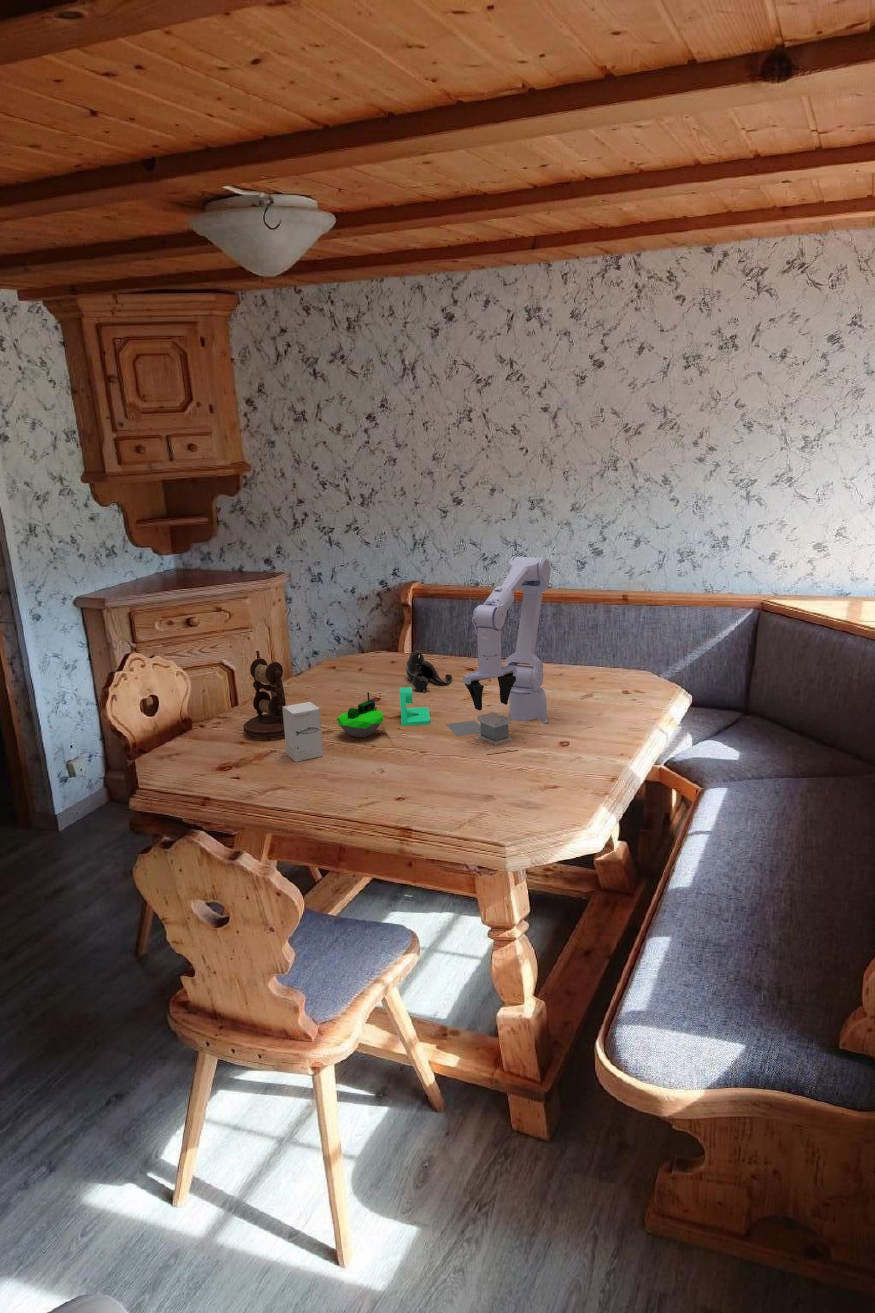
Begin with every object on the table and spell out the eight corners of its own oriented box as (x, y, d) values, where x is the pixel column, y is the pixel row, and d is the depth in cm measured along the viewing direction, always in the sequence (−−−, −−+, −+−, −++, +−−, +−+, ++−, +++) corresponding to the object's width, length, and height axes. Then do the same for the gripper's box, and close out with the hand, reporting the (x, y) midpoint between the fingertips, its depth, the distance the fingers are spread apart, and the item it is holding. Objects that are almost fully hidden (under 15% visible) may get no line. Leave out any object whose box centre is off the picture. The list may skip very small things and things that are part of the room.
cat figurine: (442, 682, 296) (453, 708, 280) (401, 674, 293) (409, 700, 277) (451, 655, 293) (462, 679, 277) (409, 646, 289) (418, 670, 273)
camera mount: (430, 730, 244) (428, 693, 242) (401, 731, 244) (399, 694, 241) (428, 716, 256) (427, 680, 253) (401, 717, 256) (399, 681, 253)
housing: (493, 734, 234) (493, 712, 232) (511, 741, 228) (510, 718, 227) (478, 739, 231) (477, 716, 230) (495, 746, 225) (494, 723, 224)
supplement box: (295, 763, 225) (291, 713, 222) (285, 753, 231) (281, 705, 228) (324, 756, 228) (320, 708, 225) (313, 748, 234) (309, 700, 231)
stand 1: (474, 725, 246) (474, 720, 245) (486, 737, 236) (486, 732, 236) (446, 729, 244) (445, 724, 243) (456, 741, 234) (456, 736, 234)
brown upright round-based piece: (311, 730, 248) (305, 658, 243) (266, 745, 238) (259, 670, 233) (277, 719, 258) (271, 650, 253) (233, 734, 248) (225, 662, 242)
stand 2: (504, 738, 235) (504, 732, 235) (517, 750, 226) (517, 745, 226) (474, 742, 233) (474, 736, 233) (486, 755, 224) (486, 749, 224)
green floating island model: (359, 726, 250) (356, 687, 247) (393, 732, 243) (390, 692, 241) (329, 739, 241) (325, 698, 238) (363, 746, 234) (360, 704, 231)
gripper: (505, 645, 232) (506, 697, 236) (455, 655, 225) (457, 708, 229) (521, 651, 226) (522, 703, 230) (471, 661, 220) (473, 715, 223)
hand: (491, 706), depth 229 cm, fingers open, 7 cm apart
